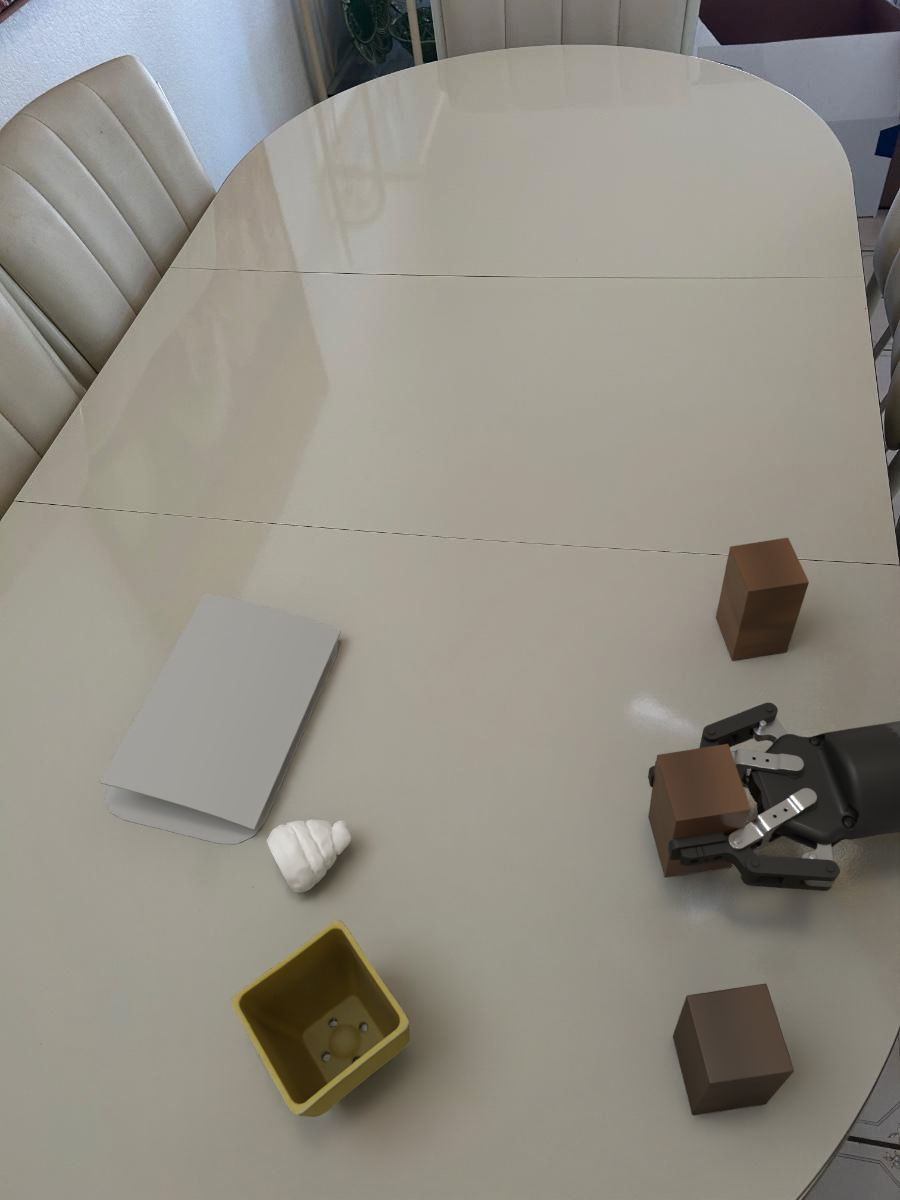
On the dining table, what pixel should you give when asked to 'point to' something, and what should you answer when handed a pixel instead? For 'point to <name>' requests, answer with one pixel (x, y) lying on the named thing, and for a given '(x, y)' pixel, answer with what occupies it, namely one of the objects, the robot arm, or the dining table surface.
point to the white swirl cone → (307, 850)
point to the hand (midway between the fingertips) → (660, 813)
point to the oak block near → (731, 1049)
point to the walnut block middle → (695, 801)
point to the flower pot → (322, 1021)
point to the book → (221, 721)
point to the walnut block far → (760, 598)
